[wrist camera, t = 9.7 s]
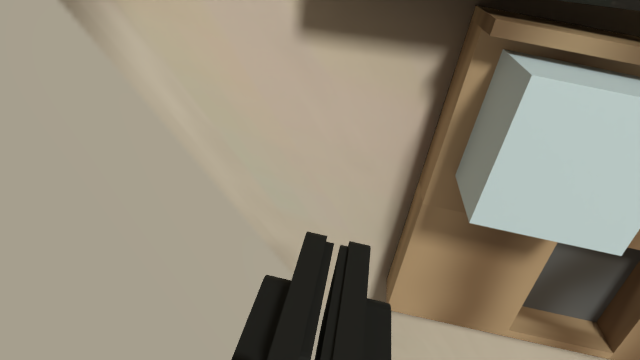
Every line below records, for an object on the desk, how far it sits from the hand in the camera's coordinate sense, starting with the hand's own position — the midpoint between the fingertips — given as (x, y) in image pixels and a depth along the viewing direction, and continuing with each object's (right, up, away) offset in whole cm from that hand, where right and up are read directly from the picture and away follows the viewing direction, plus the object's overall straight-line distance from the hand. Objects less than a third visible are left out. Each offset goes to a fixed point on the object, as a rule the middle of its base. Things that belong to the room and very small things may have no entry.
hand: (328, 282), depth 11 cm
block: (+10, +5, +8) cm, 13 cm away
